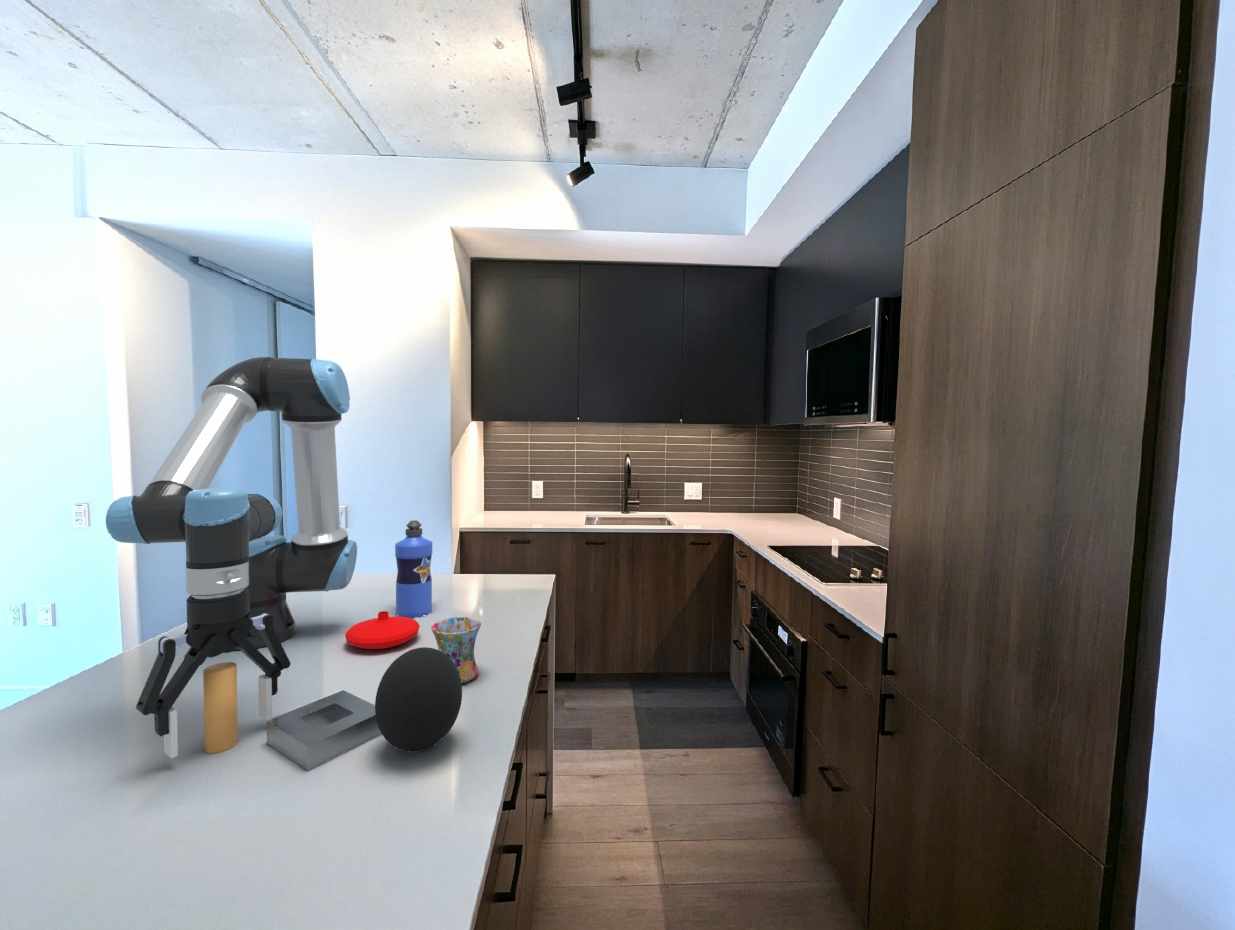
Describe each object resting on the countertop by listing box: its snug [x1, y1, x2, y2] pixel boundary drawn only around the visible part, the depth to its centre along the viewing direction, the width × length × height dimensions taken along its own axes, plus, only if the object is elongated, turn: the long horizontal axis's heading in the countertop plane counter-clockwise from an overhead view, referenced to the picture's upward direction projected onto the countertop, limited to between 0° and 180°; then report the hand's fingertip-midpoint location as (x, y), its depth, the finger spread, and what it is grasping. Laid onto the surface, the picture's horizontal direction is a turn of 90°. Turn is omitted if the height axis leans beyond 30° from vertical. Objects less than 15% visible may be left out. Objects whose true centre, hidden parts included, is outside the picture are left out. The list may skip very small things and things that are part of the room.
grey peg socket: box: [265, 689, 382, 771], centre depth 81 cm, size 12×12×4 cm
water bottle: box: [394, 519, 433, 619], centre depth 140 cm, size 9×9×25 cm
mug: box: [430, 616, 482, 684], centre depth 104 cm, size 12×9×11 cm
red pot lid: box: [344, 610, 421, 650], centre depth 120 cm, size 16×16×7 cm
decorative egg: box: [374, 647, 463, 753], centre depth 79 cm, size 12×12×15 cm
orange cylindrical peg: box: [202, 661, 239, 754], centre depth 79 cm, size 4×4×12 cm
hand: (221, 734), depth 79 cm, fingers open, 11 cm apart
